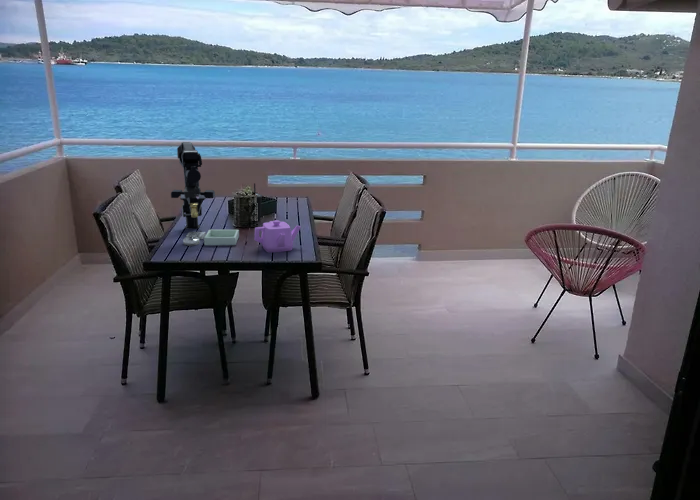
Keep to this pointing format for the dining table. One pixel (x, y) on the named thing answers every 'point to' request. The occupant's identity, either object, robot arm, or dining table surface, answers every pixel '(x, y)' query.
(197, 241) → the tensioner bracket
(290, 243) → the teakettle
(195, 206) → the pin
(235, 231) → the parts tray
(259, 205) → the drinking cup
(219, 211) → the dining table surface
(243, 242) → the dining table surface
